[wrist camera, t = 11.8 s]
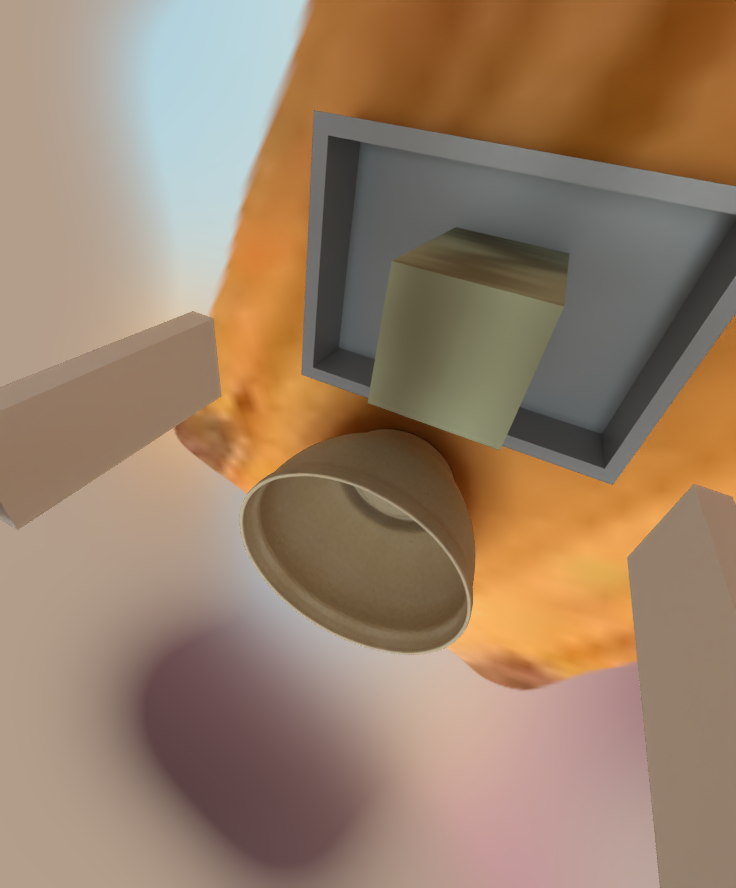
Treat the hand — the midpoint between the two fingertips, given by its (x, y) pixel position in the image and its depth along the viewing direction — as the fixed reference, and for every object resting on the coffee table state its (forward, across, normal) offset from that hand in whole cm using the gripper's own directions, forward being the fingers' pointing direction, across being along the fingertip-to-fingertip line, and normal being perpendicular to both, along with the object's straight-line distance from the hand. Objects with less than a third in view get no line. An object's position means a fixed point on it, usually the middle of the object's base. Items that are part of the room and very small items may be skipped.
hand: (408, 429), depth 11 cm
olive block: (+15, 0, 0) cm, 15 cm away
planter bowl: (+16, -3, -16) cm, 23 cm away
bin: (+16, 0, 0) cm, 16 cm away
